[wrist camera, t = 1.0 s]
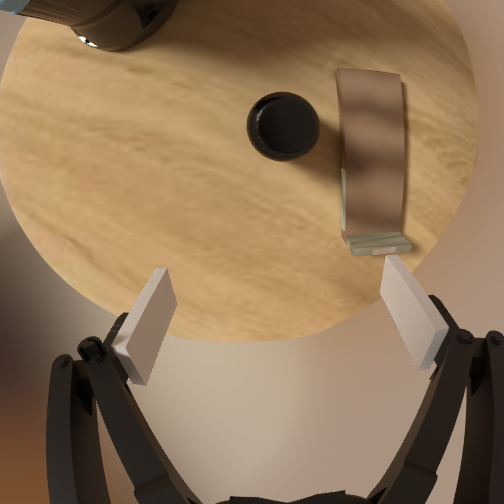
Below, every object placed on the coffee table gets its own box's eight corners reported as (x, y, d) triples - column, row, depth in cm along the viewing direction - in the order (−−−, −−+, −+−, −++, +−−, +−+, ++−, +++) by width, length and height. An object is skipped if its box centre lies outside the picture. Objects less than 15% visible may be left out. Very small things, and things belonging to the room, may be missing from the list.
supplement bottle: (317, 136, 31) (344, 144, 20) (270, 163, 33) (272, 184, 22) (287, 89, 29) (299, 72, 18) (239, 117, 31) (226, 115, 20)
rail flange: (333, 70, 27) (347, 61, 22) (394, 76, 26) (417, 70, 21) (340, 236, 37) (352, 257, 31) (394, 232, 36) (413, 252, 31)
